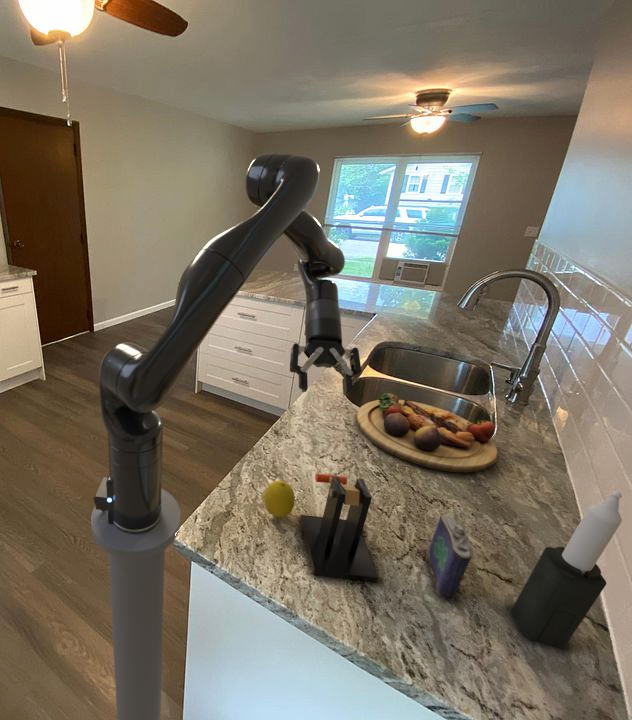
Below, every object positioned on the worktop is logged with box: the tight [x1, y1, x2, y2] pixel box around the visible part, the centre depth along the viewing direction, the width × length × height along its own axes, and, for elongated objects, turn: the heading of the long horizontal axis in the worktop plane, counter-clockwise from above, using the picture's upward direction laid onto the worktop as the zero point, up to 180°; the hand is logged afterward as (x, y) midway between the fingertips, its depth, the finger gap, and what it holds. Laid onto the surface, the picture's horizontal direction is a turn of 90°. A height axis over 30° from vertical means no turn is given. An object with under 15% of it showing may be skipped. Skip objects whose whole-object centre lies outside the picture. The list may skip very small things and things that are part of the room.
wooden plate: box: [355, 392, 499, 473], centre depth 101 cm, size 32×32×8 cm
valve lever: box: [314, 473, 360, 506], centre depth 68 cm, size 12×5×2 cm, turn 173°
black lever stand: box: [300, 476, 379, 584], centre depth 65 cm, size 12×10×14 cm
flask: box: [425, 514, 472, 601], centre depth 62 cm, size 9×3×11 cm, turn 162°
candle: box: [511, 491, 623, 649], centre depth 51 cm, size 5×5×25 cm
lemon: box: [263, 480, 295, 518], centre depth 73 cm, size 6×6×8 cm
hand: (325, 392), depth 81 cm, fingers open, 8 cm apart
